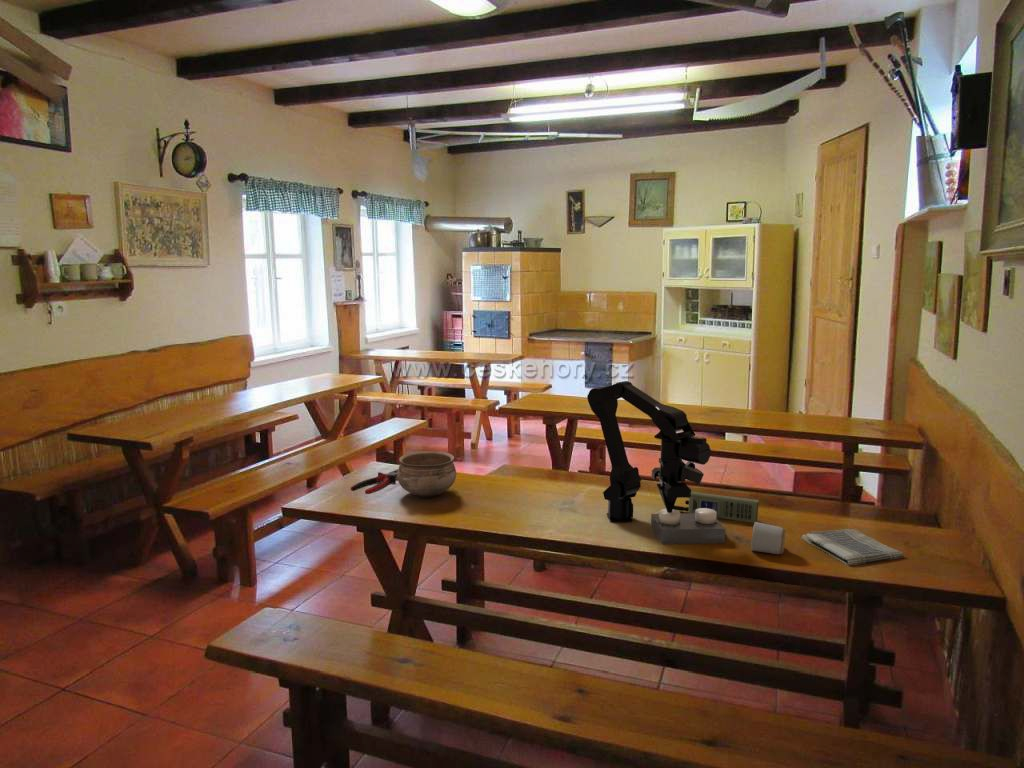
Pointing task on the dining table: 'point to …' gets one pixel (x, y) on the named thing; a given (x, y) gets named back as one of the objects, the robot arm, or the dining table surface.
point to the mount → (687, 531)
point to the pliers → (381, 477)
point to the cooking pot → (426, 473)
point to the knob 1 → (669, 517)
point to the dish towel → (851, 546)
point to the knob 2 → (705, 516)
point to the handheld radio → (723, 506)
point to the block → (768, 538)
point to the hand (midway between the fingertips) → (669, 512)
